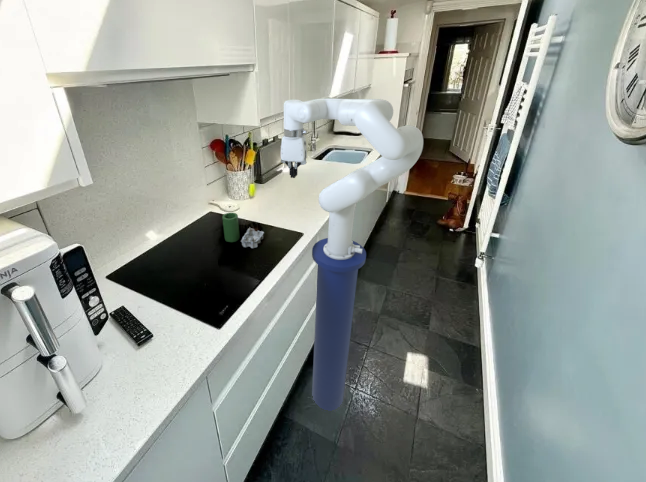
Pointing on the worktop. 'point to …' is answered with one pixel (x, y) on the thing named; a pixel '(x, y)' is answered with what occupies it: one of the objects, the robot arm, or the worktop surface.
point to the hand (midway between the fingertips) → (293, 176)
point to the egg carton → (252, 238)
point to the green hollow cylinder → (231, 227)
